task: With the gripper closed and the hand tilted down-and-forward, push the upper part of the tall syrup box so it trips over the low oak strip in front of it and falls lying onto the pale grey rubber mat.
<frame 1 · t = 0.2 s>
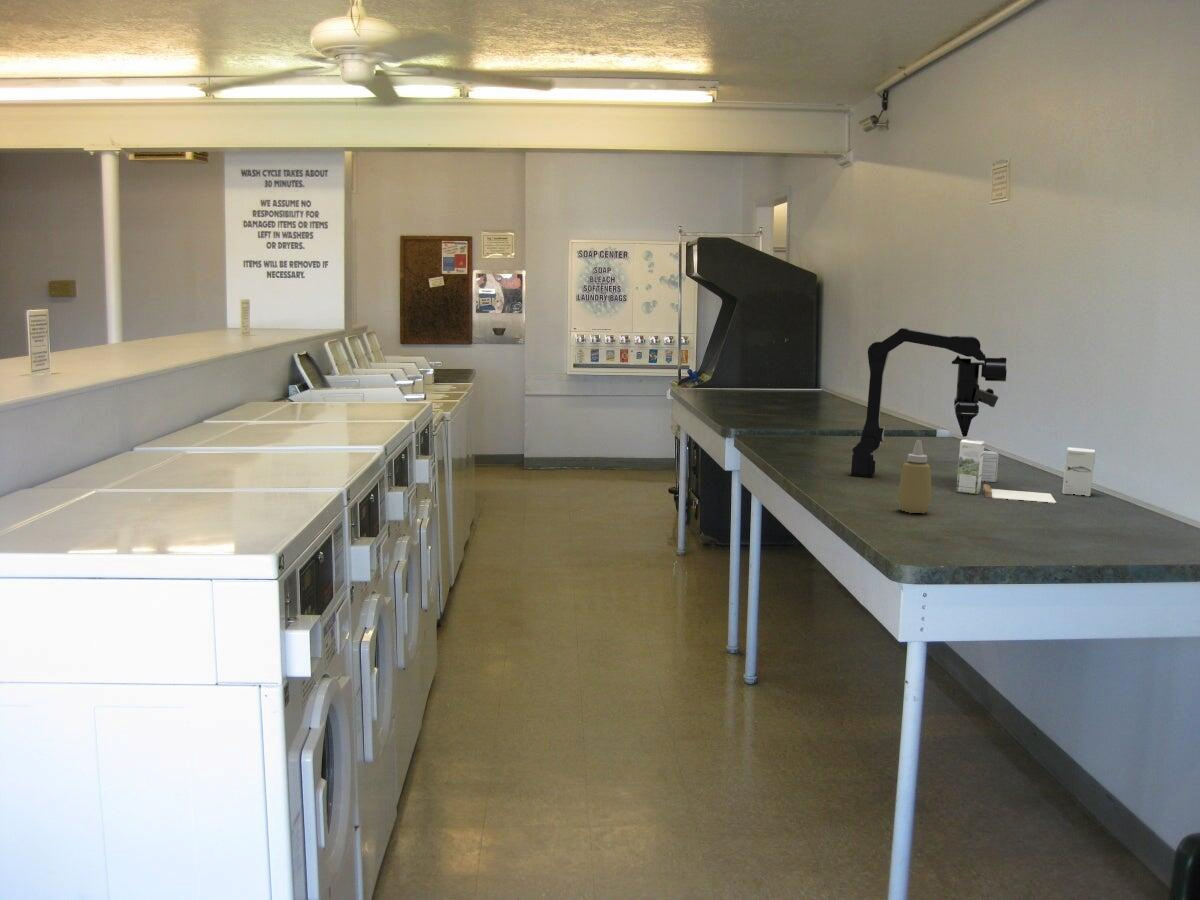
hand: (964, 434, 312), 14 cm above the table, tool pointing down, fingers open, 9 cm apart
medicine box: (980, 481, 321), on the table
squeeze bottle: (913, 512, 269), on the table
syrup box: (968, 492, 300), on the table
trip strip: (987, 493, 299), on the table
mat: (1021, 496, 297), on the table
supplement box: (1076, 494, 305), on the table
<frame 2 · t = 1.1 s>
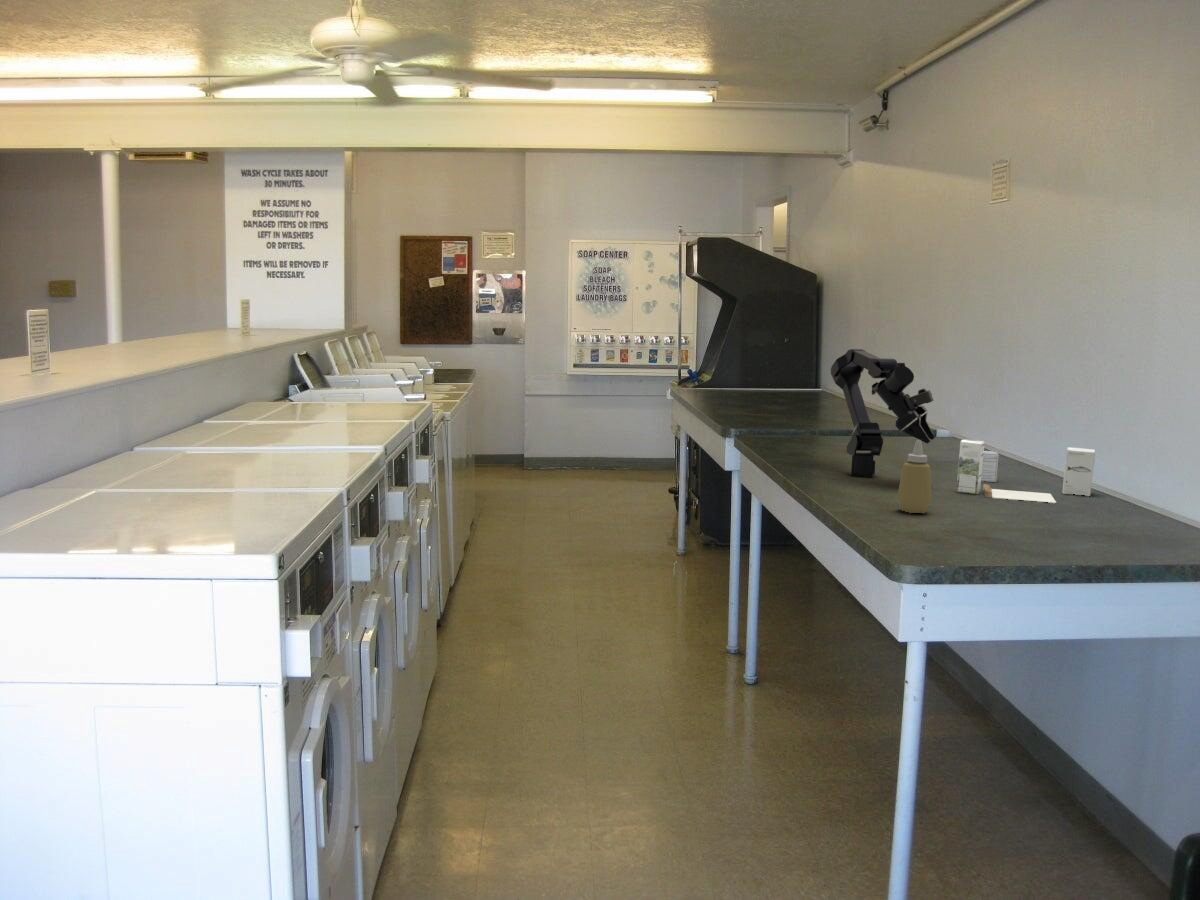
hand: (931, 440, 304), 13 cm above the table, tool tilted 45°, fingers open, 8 cm apart
nothing on the table moved.
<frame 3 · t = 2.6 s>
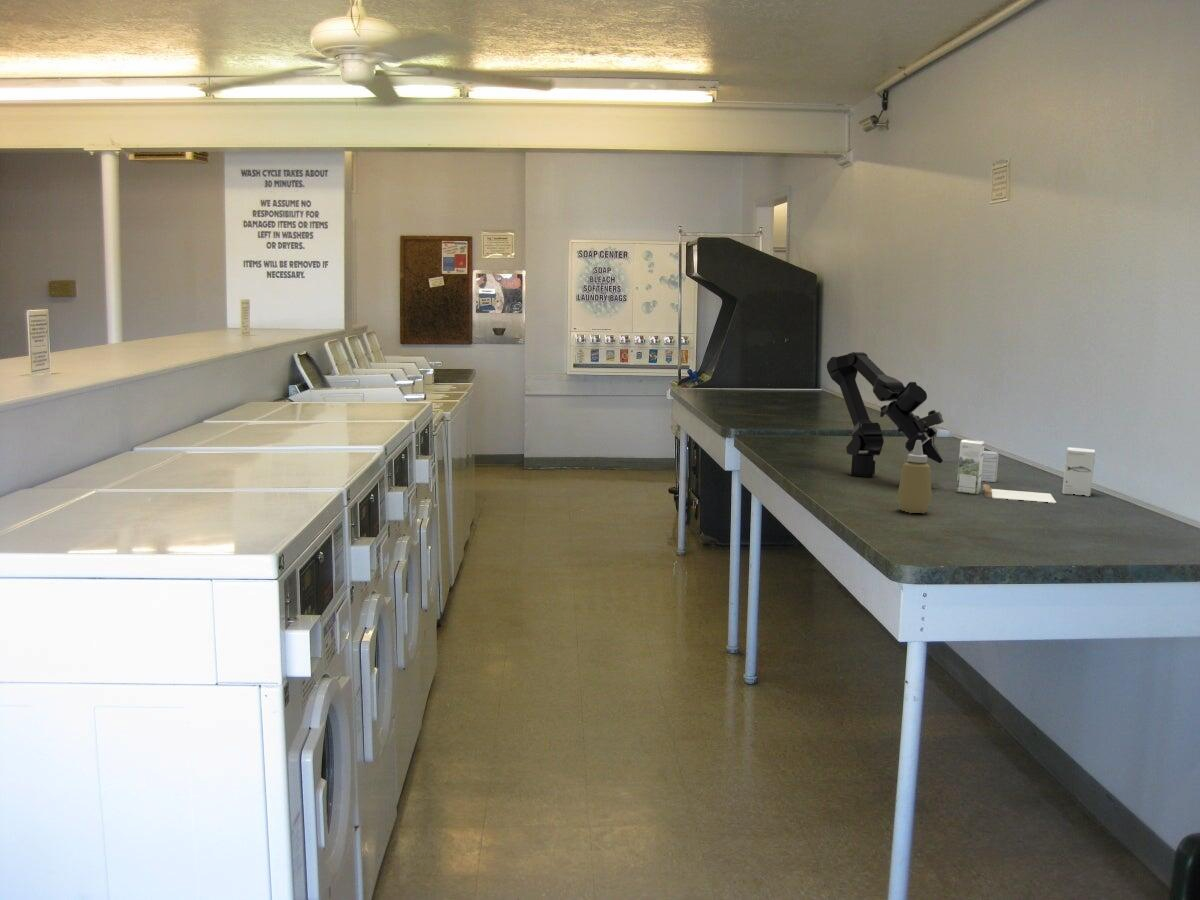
hand: (941, 462, 303), 8 cm above the table, tool tilted 45°, fingers closed
nothing on the table moved.
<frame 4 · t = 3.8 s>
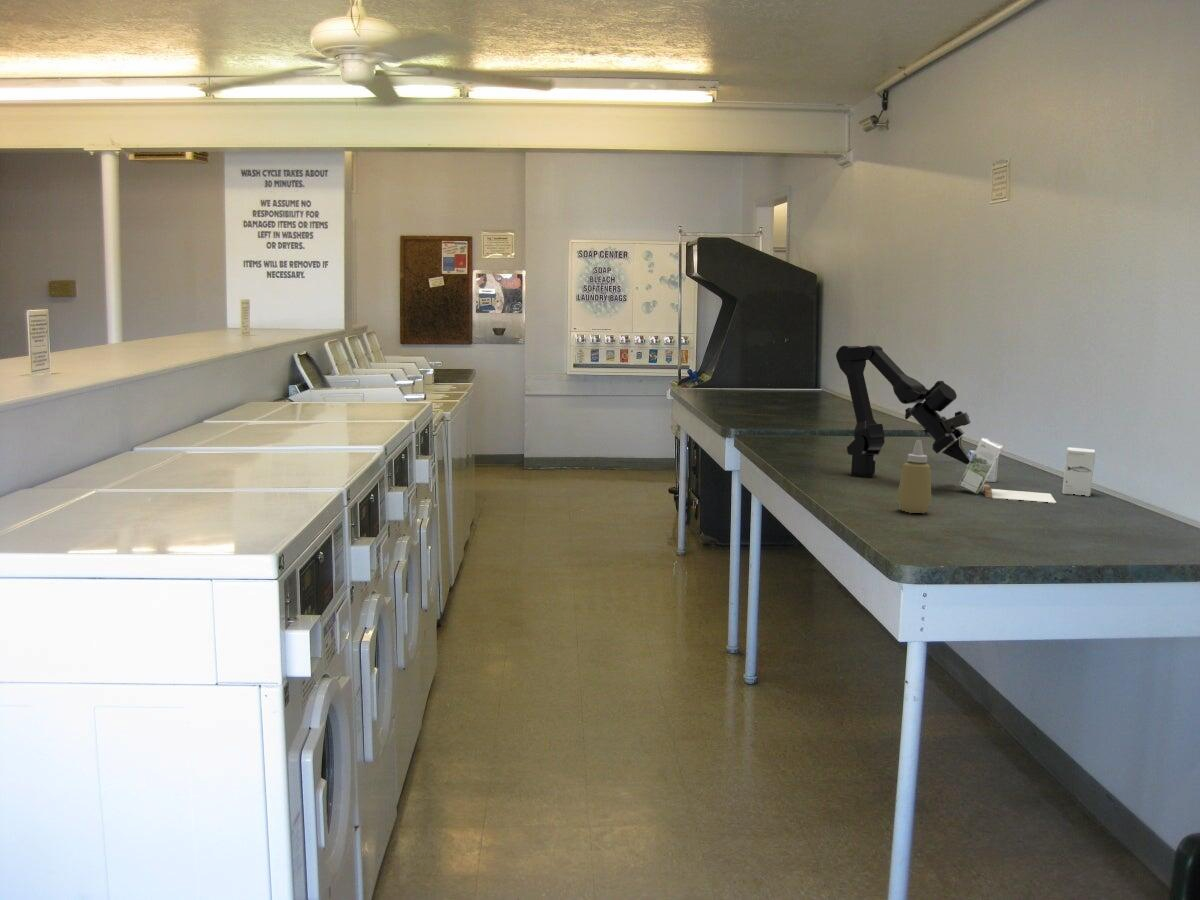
hand: (969, 463, 299), 8 cm above the table, tool tilted 45°, fingers closed, pressing on syrup box
syrup box: (968, 489, 300), point 1 cm above the table, touching gripper
everything else where it was.
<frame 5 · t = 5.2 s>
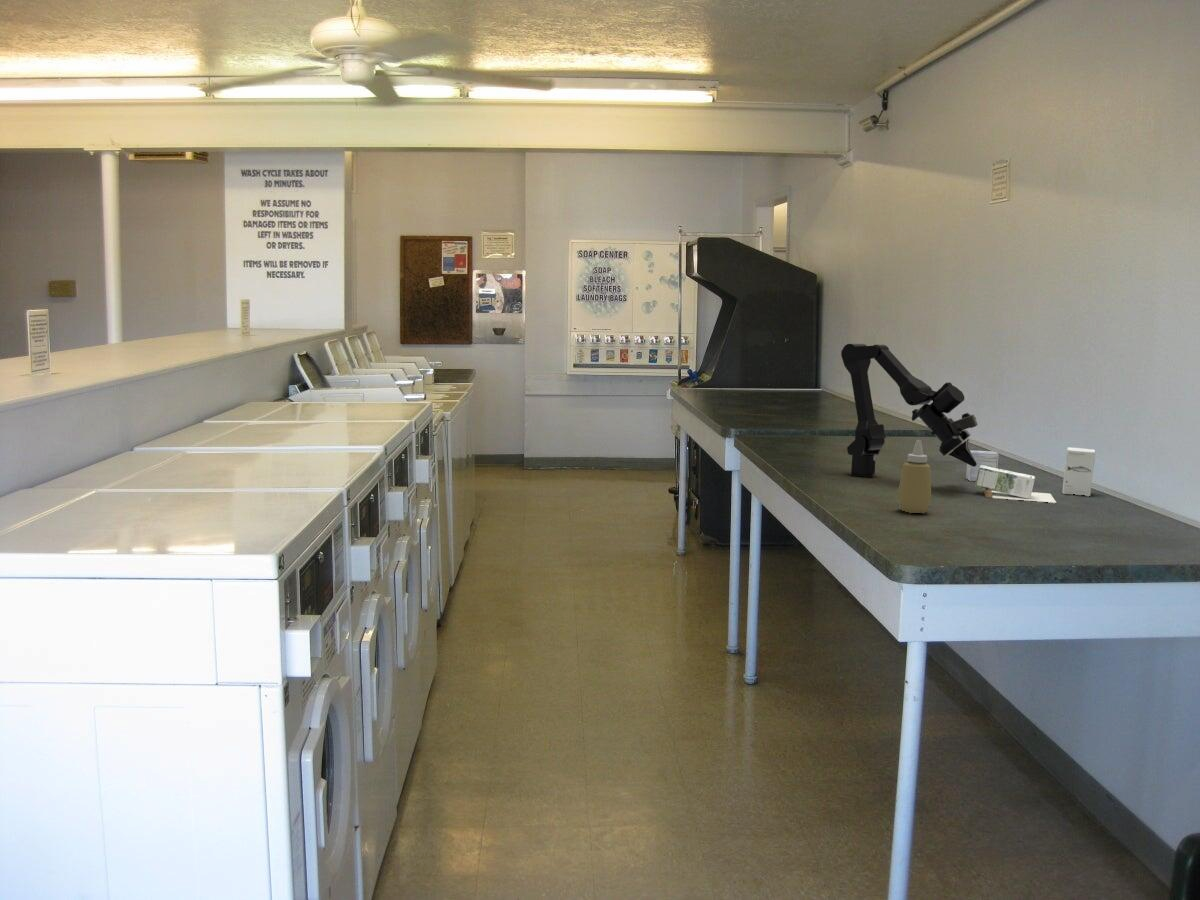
hand: (975, 465, 299), 8 cm above the table, tool tilted 45°, fingers closed
syrup box: (976, 475, 299), point 5 cm above the table, touching mat, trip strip
everything else where it was.
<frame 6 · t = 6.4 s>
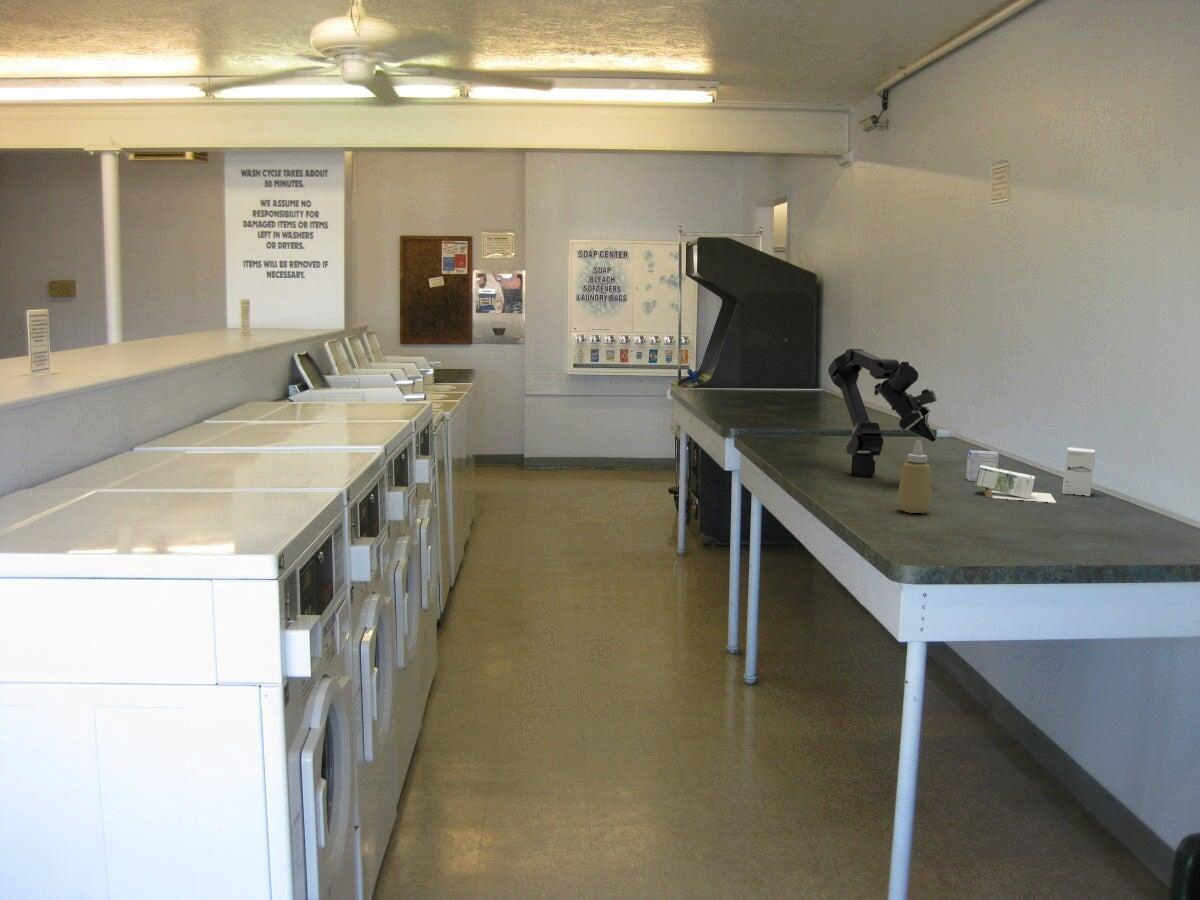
hand: (934, 440, 303), 13 cm above the table, tool tilted 45°, fingers closed
nothing on the table moved.
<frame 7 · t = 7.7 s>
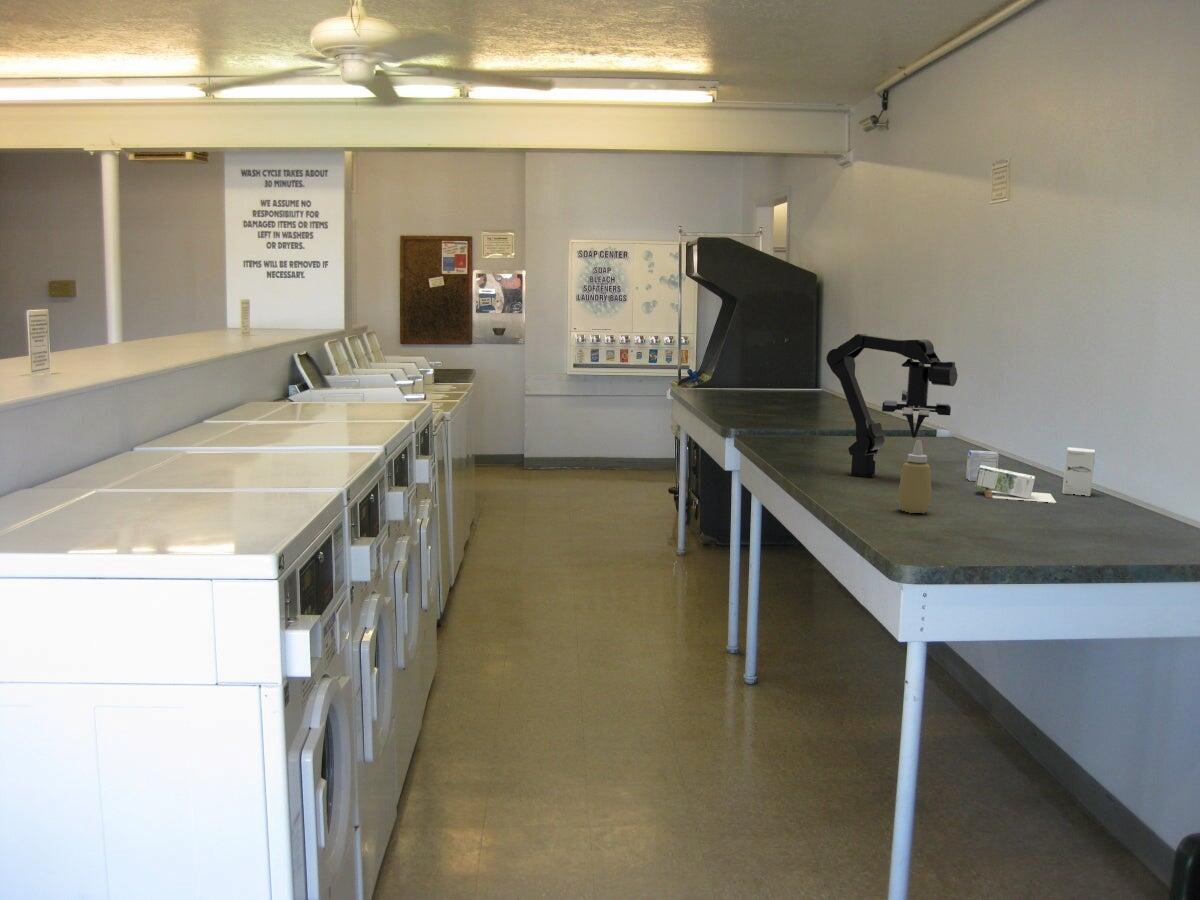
hand: (913, 437, 311), 13 cm above the table, tool pointing down, fingers closed
nothing on the table moved.
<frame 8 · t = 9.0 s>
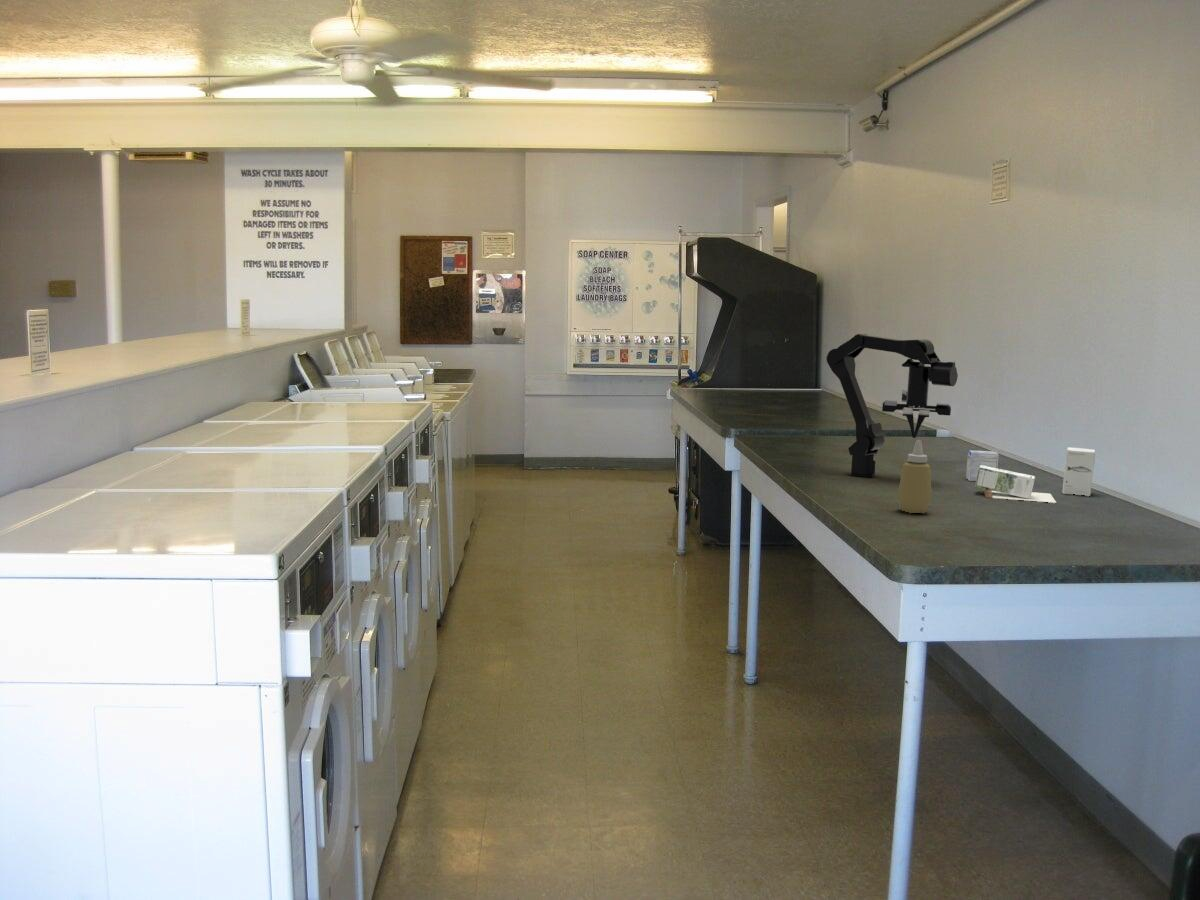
hand: (914, 437, 311), 13 cm above the table, tool pointing down, fingers closed
nothing on the table moved.
at the end: syrup box tilted 97°; syrup box inside the target area (10.7 cm from its centre), point 4.9 cm above the table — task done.
